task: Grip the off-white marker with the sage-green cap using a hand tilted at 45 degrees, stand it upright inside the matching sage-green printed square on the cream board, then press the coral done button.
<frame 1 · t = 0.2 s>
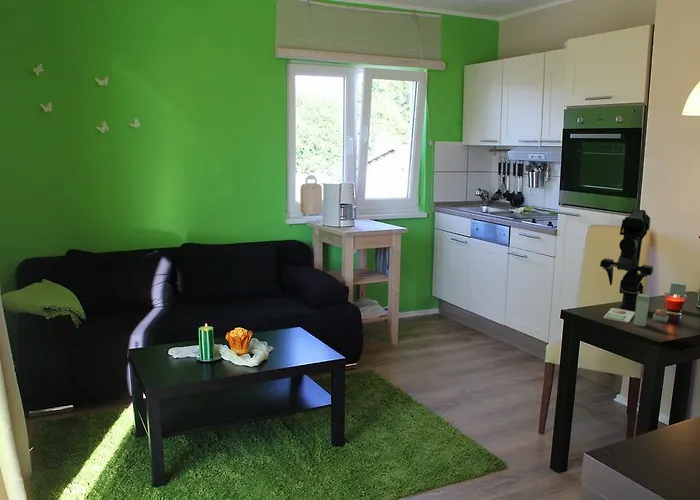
hand: (623, 287, 245), 15 cm above the table, tool pointing down, fingers open, 9 cm apart
skincare box: (674, 310, 270), on the table
sage marker: (639, 324, 247), on the table
done button: (661, 312, 253), point 3 cm above the table, slide at 0.0 cm
button housing: (660, 320, 253), on the table
picture board: (619, 315, 257), on the table
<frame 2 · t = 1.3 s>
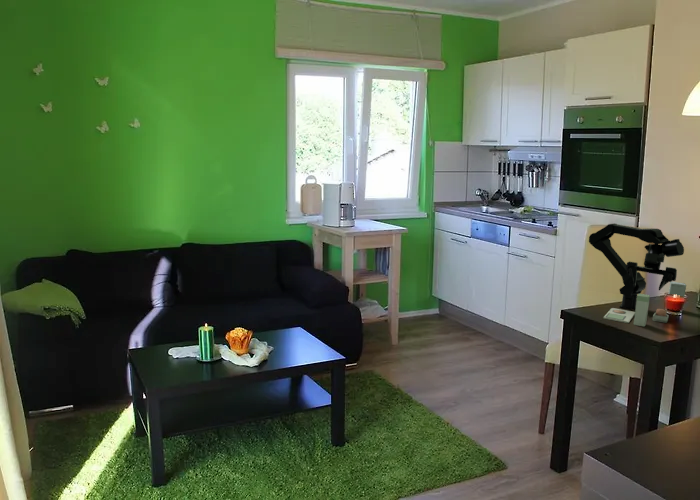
hand: (646, 287, 251), 13 cm above the table, tool tilted 45°, fingers open, 9 cm apart
nothing on the table moved.
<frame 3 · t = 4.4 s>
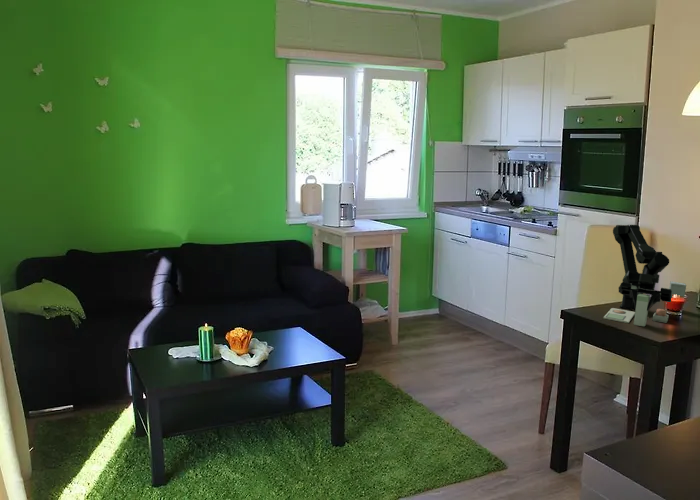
hand: (641, 309, 244), 7 cm above the table, tool tilted 45°, fingers closed on sage marker, 4 cm apart
sage marker: (639, 324, 247), on the table, touching gripper
everything else where it was.
when the fingers open (8 cm above the table, at t = 9.1 s): sage marker stays where it is, resting on picture board.
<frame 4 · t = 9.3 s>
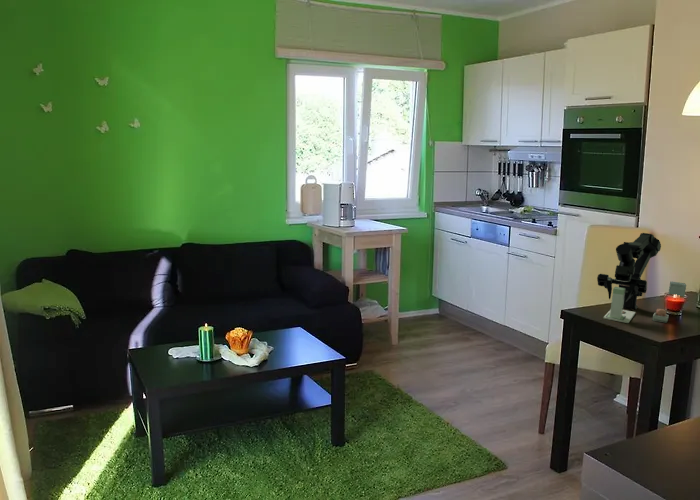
hand: (617, 300, 251), 8 cm above the table, tool tilted 45°, fingers open, 6 cm apart
sage marker: (615, 316, 254), point 1 cm above the table, touching picture board
everything else where it was.
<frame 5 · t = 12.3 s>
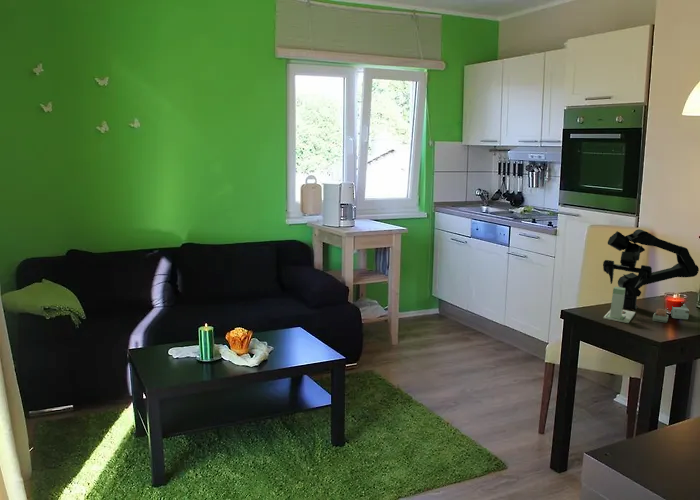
hand: (622, 285, 258), 13 cm above the table, tool tilted 45°, fingers open, 9 cm apart
skincare box: (675, 306, 267), point 2 cm above the table
everything else where it was.
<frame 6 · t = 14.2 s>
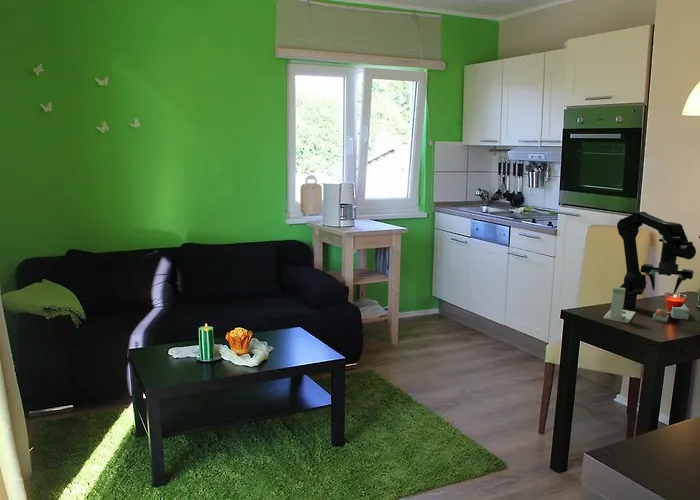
hand: (663, 291, 251), 12 cm above the table, tool pointing down, fingers open, 7 cm apart
nothing on the table moved.
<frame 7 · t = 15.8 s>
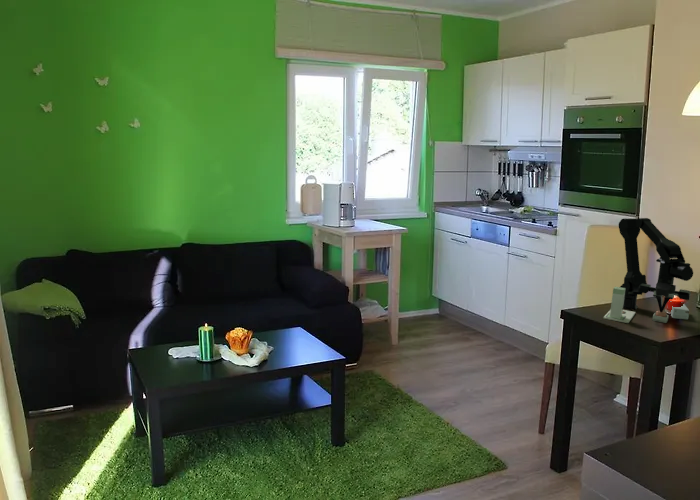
hand: (661, 311, 253), 4 cm above the table, tool pointing down, fingers closed, pressing on done button
done button: (661, 314, 253), point 3 cm above the table, slide at 0.8 cm, touching gripper
everything else where it was.
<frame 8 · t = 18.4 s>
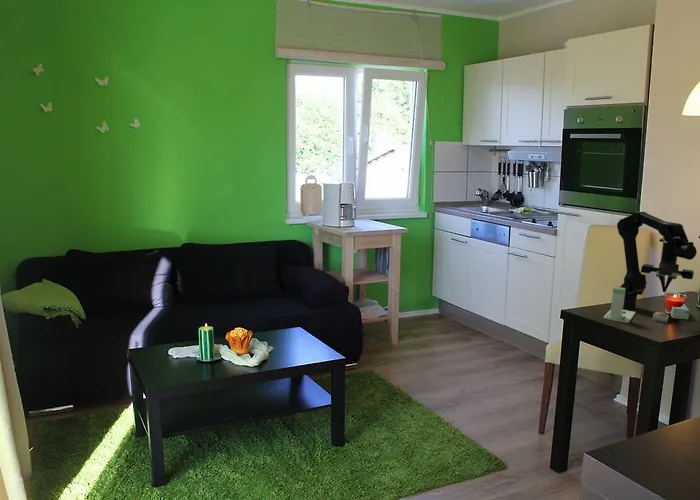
hand: (664, 292, 251), 12 cm above the table, tool pointing down, fingers closed
done button: (660, 315, 253), point 2 cm above the table, slide at 1.4 cm
everything else where it was.
at the end: sage marker 0.1 cm from the target spot on the picture board, point 0.7 cm above the picture board's base; sage marker tilted 0°; done button slide at 1.4 cm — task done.
